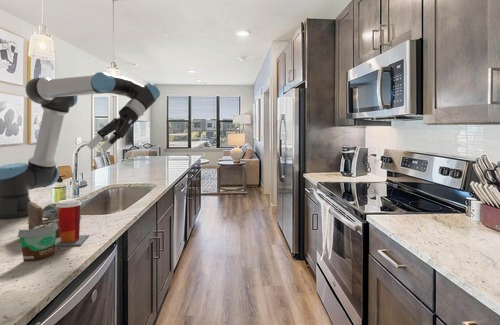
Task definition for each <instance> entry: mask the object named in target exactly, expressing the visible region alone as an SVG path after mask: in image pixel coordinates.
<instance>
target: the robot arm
mask: <svg viewBox="0 0 500 325" xmlns="http://www.w3.org/2000/svg"><path fill="white" fill-rule="evenodd" d="M25 94H26V95H27V97H28V99H30V100H31V101H32V102H33V103H35V104H38V105H40V107H41V108H42V110H43V113H42V116H41V121H40V125H39V130H38V134H37V140H36V144H35V148H34V152H33V156H32V157H30V158H29V159H28V162H27V163H25V162H16V163H15V162H14V163H9V164H4V165H0V219H1V220H2V219H16V218H23V217H26V216H27V217H28V204H27V202H32V201H31V199H30V194H29V193H30V192H29V190H34V189H39V188H47V187H49V186H53V185H54V184H56V182H57V181H58V179H59V176H60V171H59V167H58V166H57V162H56V161H55V160H54V159H55V154H56V150H57V146H58V143H59V138H60V134H61V130H62V126H63V121H64V117H65V115H67V114H68V113H69V112H70V108H73V107H74V106H75V105H77V103H78V96H88V95H100V94H112V95H118V96H123V97H126V98H129V101H128V102H126V104H125V105H124V106H123V107H122V108H120V110H119V111H118V115H119V117H117V118H116V117H115V118H113V119H112V120H110V121H109V123H107V124H106V125H104V126H103V127H102V128H101V129H99V130H97V132H96V135H95V136H94V137H93V138H92V139H91V140H90V141H89V142H88V143H87V144H86V146H87V147H88V149H90V150H91V151H93V150H94V149H95V148H96V147H97V146H98V144H100V143H101V142H102V141H103V140H104V139H105V137H106V136H108V135H110V134H111V133H112V134H111V135H110V136H109V137H108V138H107V139H106V140H104V142H103V143H102V144H101V145H100V148H101V149H102V150H103V151H104V152H108V150H110V149H111V147H112V146H113V145H114V144H115V143H116V142H117V141H118V140H120V139H123V138H124V137H125V135H126V134H127V133H128V131H129V129H130V127H131V126H132V125H134V124H135V123H136V122H137V121H138V119H139V118H140V117H141V116H144V114H145V113H146V111H148V109H149V108H150V107H151V106H152V105H153V104H154V103H155V102H157V100H158V98H159V97H161V91H160V90H159V88H158V87H157V85H155V84H154V83H151V82H150V83H149V82H148V83H146V84H145V85H142V84H141V83H139V82H136V81H134V80H132V79H131V78H130V77H127V76H124V75H114V74H110V73H108V72H101V71H98V72H96V73H95V74H93V75H84V76H82V75H81V76H72V77H62V78H52V79H51V78H49V77H45V76H44V77H34V78H31V79H30V80H29V81H27V83H26V86H25Z"/></svg>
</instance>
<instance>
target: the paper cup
mask: <svg viewBox="0 0 500 325" xmlns="http://www.w3.org/2000/svg"><path fill="white" fill-rule="evenodd" d="M56 204H57V205H56V207H57V209H58V219H59V228H60V237H61V242H63V243H70V242H75V241H78V240H79V235H80V229H81V228H80V227H81V222H80V221H81V219H80V216H81V205H82V203H81V201H80V200H79V199H74V198H73V199H62V200H58V201H57V203H56Z"/></svg>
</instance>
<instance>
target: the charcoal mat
mask: <svg viewBox="0 0 500 325" xmlns="http://www.w3.org/2000/svg"><path fill="white" fill-rule="evenodd" d="M88 238H90V234H85V235H84V234H81V235H80V234H79V240H78V241H75V242H70V243H63V242H61V237H60V236H59V237H58V238H55V248H65V247H67V248H68V247H80V246H82V245H83V244H84V243H85V242H86V241H87V239H88Z"/></svg>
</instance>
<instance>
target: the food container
mask: <svg viewBox="0 0 500 325" xmlns="http://www.w3.org/2000/svg"><path fill="white" fill-rule="evenodd" d="M48 221H49V223H46V224H43V225H38V226H35V227H33V228H31V229H29V228H28V229H18V233H17V237H18V238H19V240H20V246H21V252H22V259H23V262H36V261H41V260H46V259H48V258H51V257H53V256H54V255H55V251H56V247H55V240H56V238H55V235H56V230H57V229H58V226H57V223H56V221H54V220H52V219H49V220H48Z"/></svg>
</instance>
